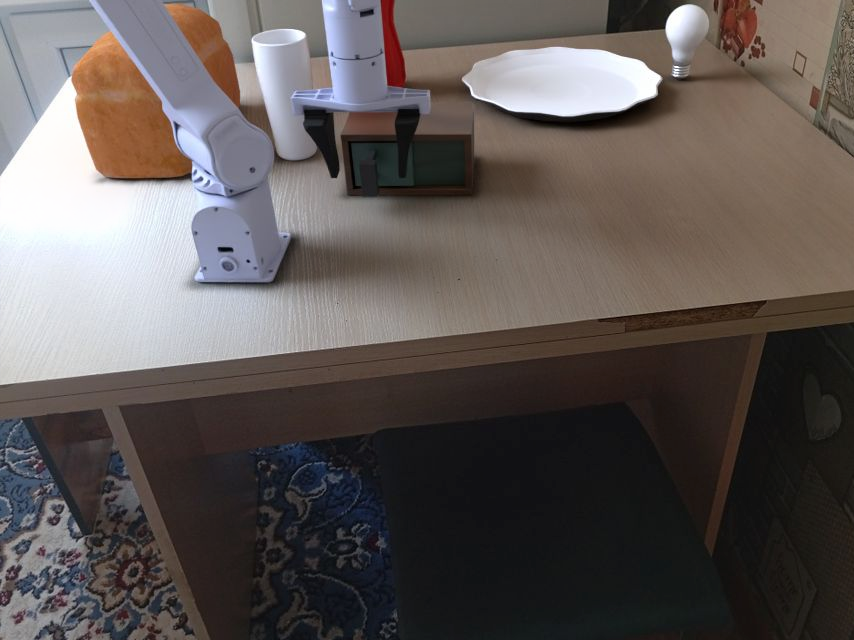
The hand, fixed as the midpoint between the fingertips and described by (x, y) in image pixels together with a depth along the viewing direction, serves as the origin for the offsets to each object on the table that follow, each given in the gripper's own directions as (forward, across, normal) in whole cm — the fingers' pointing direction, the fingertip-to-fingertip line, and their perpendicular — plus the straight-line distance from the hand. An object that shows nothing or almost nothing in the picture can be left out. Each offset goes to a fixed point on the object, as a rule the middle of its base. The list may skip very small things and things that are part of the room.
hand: (369, 174), depth 89 cm
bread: (+5, +30, -21) cm, 37 cm away
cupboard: (+4, -4, -9) cm, 10 cm away
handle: (+3, -1, -2) cm, 4 cm away
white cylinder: (+5, +12, -16) cm, 20 cm away
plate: (+5, -24, -38) cm, 45 cm away
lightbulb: (+5, -43, -44) cm, 61 cm away
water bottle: (+5, +5, -38) cm, 38 cm away
